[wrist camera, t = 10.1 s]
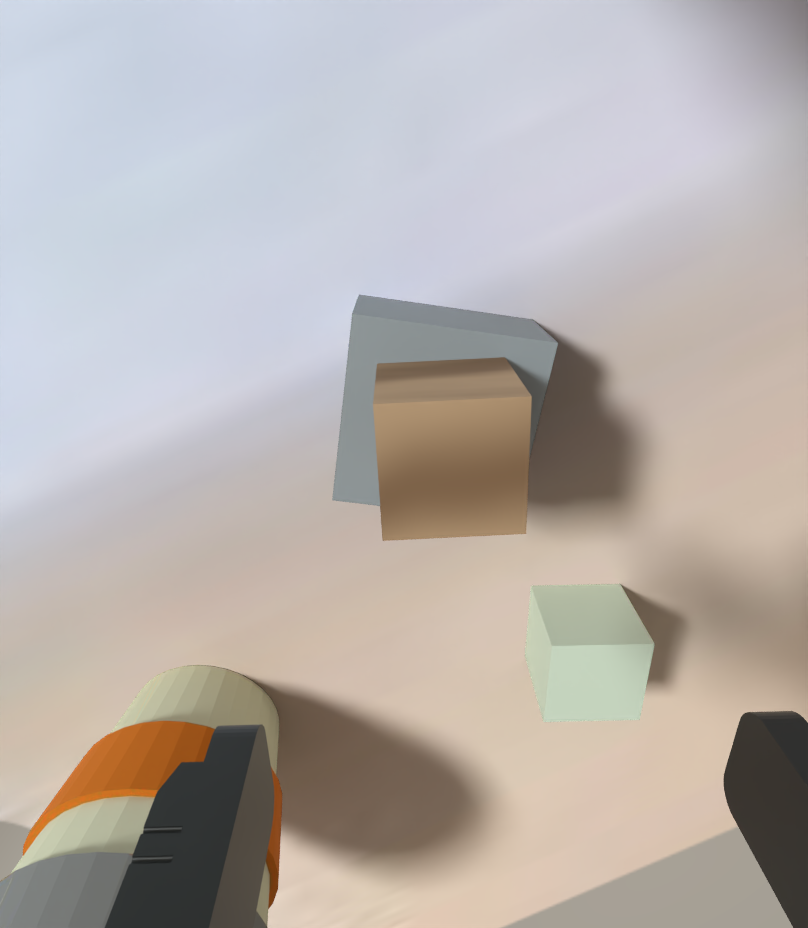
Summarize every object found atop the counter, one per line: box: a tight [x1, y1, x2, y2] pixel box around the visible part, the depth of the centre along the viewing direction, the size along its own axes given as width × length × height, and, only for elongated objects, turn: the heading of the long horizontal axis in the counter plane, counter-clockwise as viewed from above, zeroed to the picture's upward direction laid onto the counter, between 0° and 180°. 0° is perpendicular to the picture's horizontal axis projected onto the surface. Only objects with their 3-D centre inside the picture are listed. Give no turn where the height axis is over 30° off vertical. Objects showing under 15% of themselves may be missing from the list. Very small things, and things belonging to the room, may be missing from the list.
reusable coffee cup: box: [0, 665, 282, 928], centre depth 31 cm, size 13×13×15 cm
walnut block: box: [373, 357, 532, 541], centre depth 22 cm, size 5×5×5 cm
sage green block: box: [525, 584, 655, 722], centre depth 33 cm, size 5×5×5 cm
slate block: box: [332, 295, 558, 506], centre depth 27 cm, size 8×8×5 cm
